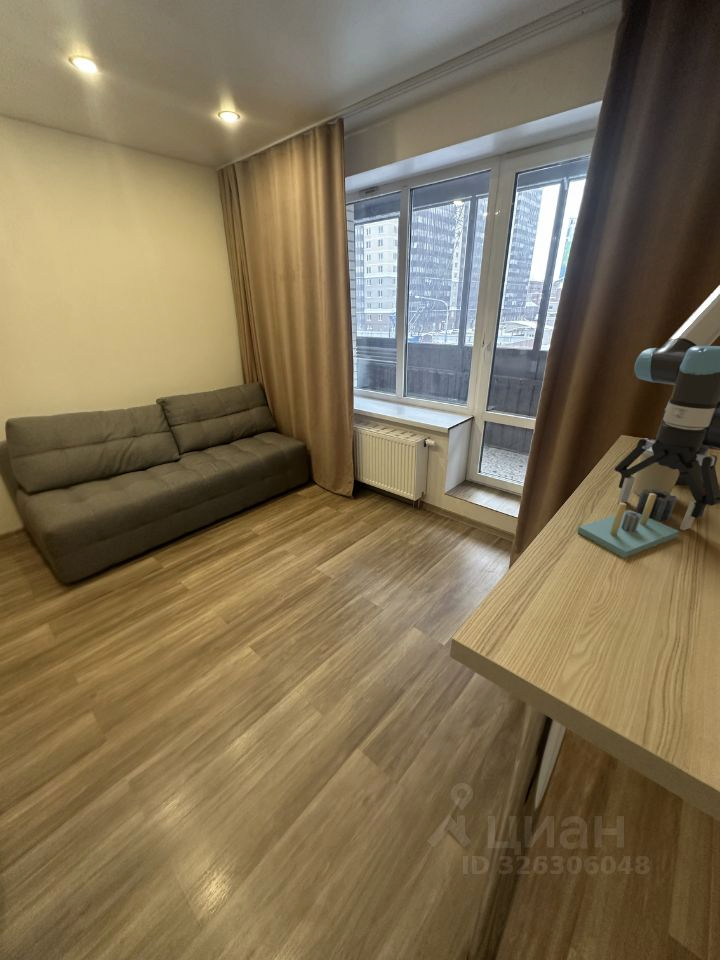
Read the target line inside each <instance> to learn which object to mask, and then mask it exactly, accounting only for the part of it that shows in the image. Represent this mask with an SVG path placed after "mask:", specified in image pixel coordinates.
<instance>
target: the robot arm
mask: <svg viewBox="0 0 720 960" xmlns="http://www.w3.org/2000/svg"><path fill="white" fill-rule="evenodd" d="M718 337H720V284H719V285H718V286H717V287H716V288H715V289H714V290H713V291H712V292H711V293H710V295H709V296H708V297H707V298H706V299H705V300H704V301H703V302H702V303H701V304H700V305H699V307H697V309H696V310H695V311H694V312H693V313H692V314H691V315H690V316H689V317H688V318H687V319H686V320H685V322H684V323H683V324H682V325H681V326H680V327H678V329H677V330H676V331H675V332H674V333H673V334H672V336H671V337H670V338H668V340H667V341H665V343H663V345H661V347H660V348H658V347H653V348H652V347H650V348H647V349H645V350H643V351H641V353H640V354H639V355H638V357H636V361H635V362H634V363H635V364H634V368H633V369H634V371H633V373H635V374H634V375H635V376H636V378H637V379H639V380H643V381H647V382H650V383H654V384H655V383H658V384H664V385H672V386H673V389H672V391H671V392H672V393H671V396H670V398H669V400H668V402H667V404H666V407H665V408H664V413H663V416H662V419H661V423H660V425H659V428H658V430H657V434H656V438H655V439H654V440H655V441H653V440H652V439H651V438H650V437H645V438H641V439H639V440H638V442H637V444H636V446H635V448H634V449H632V451H631V452H629V453H628V455H626V457H625V458H624V459H622V460H621V461H620V462H619V464H617V465H616V467H614V470H615V472H618V473H619V474H620V475H621V477H620V480H619V485H618V488H619V489H620V492H619V496H618V499H617V503H625V502H628V501H629V498H630V496H631V495H630V494H631V492H632V487H633V483H634V480H635V474H636V472H638V471H640V470H642V469H644V468H646V467H648V466H650V465H652V464H653V463H655V462H658V463H659V465H662V466H667V467H669V468H671V469H674V470H675V469H678V470H679V472H680V475H679V477H678V479H677V481H676V483H675V484H678V485H679V484H680V485H687V487H688V489H689V491H690V493H691V495H692V497H693V499H694V500H693V501H690V502H689V505H688V507H687V510H686V511H685V514H684V517H683V519H682V522H681V523H680V526H679V529H680V530H681V531H686V530H688V529H691V528H692V526H693V523H694V521H695V519H697V518H700V517H702V516H703V513H704V512H705V509H706V507H707V505H709V506H710V507H711V506H714V505H718V504H720V486H719V480H718V476H717V471H716V465H717V461H718V457H717V456H716V455H714V454H713V455H708V451H709V449H710V448H713V449H717V450H720V345H712V344H713V343H714V342H715V340H716V339H718ZM650 447H652V450H653V453H654V455H652V456H651V457H649V458H647V459H646V460H644V461H642V462H640V463H638V462H637V463H636V464H635V465H633V466H631V465H632V464H633V463H634V462H635V461H636V460H638V459H639V457H640V455H641V454H642V453H644V452H645V451H646V450H647V449H649V448H650ZM629 467H630V468H629ZM633 475H634V476H633Z"/></svg>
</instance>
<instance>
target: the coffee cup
mask: <svg viewBox="0 0 720 960" xmlns="http://www.w3.org/2000/svg"><path fill="white" fill-rule="evenodd" d="M652 455H654V453H653V450H652V447H650V448H649V449H647V450H646V451H645V452H644V453H642V454H641V455H640V456H639V457H638V462H637V464H638V463H640V462H642V461H644V460H646V459H647V458H649V457H651V456H652ZM679 475H680V472H679V470H678V469H675V470H674V469H671V468H669V467H667V466H662V465H659V463H658V462H655V463H653V464H652V465H650V466H648V467H646V468H644V469H642V470H640V471H638V472H636V473H634V477H635V480H634V483H633V486H632V489H631V492H632V493H634V494H635V495H638V496H639V497H640V496H641V493H642V491H643V490H645V489H647V490H652V489H656V490H658V491H660V492H668V493H670V494H672V491H673V489H674V487H675V485H676V484H677V483H676V481H677V479H678V477H679Z"/></svg>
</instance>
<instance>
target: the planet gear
mask: <svg viewBox="0 0 720 960" xmlns="http://www.w3.org/2000/svg"><path fill="white" fill-rule="evenodd" d="M650 493H653V494H656V495H657V496H656V499H655V501H654V504H653V507H652V510H651V513H650V515H649V518H650V519H652V520H655V521H657V522H661V521H664V522H667V521H669V520H670V519H671V516H672V513H673V511H674V508H675V505H676V503H677V499H678V498H677V496H676V495H671V493H668V492H660V491H658V490H656V489H652V490H647V489H645V490H643V491H642V493H641V496H639V500H638V503H637V505H636V508H635V512H636V513H639V514H641V515H642V514H643V511H644V508H645V505H646V502H647V500H648V497H649V494H650Z"/></svg>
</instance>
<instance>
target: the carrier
mask: <svg viewBox="0 0 720 960" xmlns="http://www.w3.org/2000/svg"><path fill="white" fill-rule="evenodd" d="M656 496H657V495H656V494H653V493H650V494H649V497H648V500H647V502H646V505H645V508H644V511H643V514H639V513H636V511H634V510H631V509H629V510H626V508H627V506H628V505H627V503H625V502H623V503H619V504H618V507H617V510H616V512H615V514H613V515H610V516H607V517H603V518H600V519H599V520H595V521H592V522H589V523H585V524H583V525H579V526H578V528H577V532H578V533H577V534H579V533H580V534H579V535H581V534H582V535H583V536H582V535H581V536H582V537H584V536H585V538H586V537H587V538H586V539H588V538H589V540H590V539H591V540H590V541H592V540H593V541H595V542H596V544H597V543H598V544H597V545H599V544H600V545H599V546H601V545H602V546H601V547H602V548H604V547H605V549H606V548H607V549H606V550H608V551H610V552H612V553H613V554H616V555H617V556H620V557H621V558H623V559H625V558H629V557H631V556H633V555H636V554H638V553H641V552H643V551H645V549H646V550H649V549H651V548H653V547H652V546H654V547H656V546H658V545H657V544H659V545H661V544H664V543H666V542H668V540H669V541H672V540H673V539H677V537H678V535H679V532H680V530H677V529H676V528H674V527H671V526H668V525H665V524H663V523H661V522H660V521H655V520H653V519H651V518H649V515H650V513H651V510H652V507H653V504H654V501H655V499H656ZM593 541H592V542H593ZM665 541H666V542H665ZM595 542H594V543H595ZM663 542H664V543H663ZM660 543H661V544H660ZM655 545H656V546H655ZM650 547H651V548H650Z"/></svg>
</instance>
